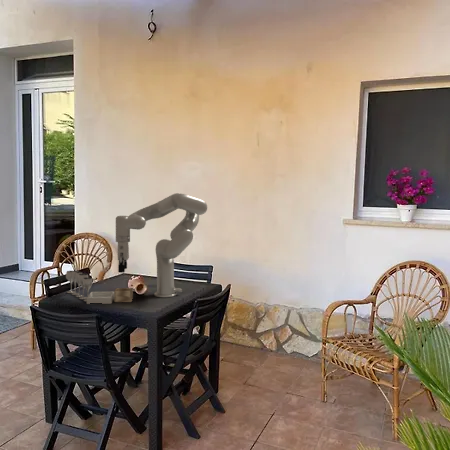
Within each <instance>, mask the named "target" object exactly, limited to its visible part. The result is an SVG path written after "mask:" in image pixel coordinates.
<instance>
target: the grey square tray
mask: <svg viewBox="0 0 450 450" xmlns="http://www.w3.org/2000/svg"><path fill="white" fill-rule="evenodd" d="M86 297H87V301H86V305H91V304H90V303H102V304H104V305H105V304H107V305H108V304H110V305H111V304H112V303H113V302H114V291H91V292H90V293H88V295H87V296H86ZM102 304H101V305H102Z"/></svg>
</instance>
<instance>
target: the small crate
mask: <svg viewBox="0 0 450 450" xmlns="http://www.w3.org/2000/svg"><path fill="white" fill-rule="evenodd" d="M133 288H134V287H124V288H123V287H121V288H119V287H117V288H115V289H114V291H113V292H114V300H113V302H115V303H122V302H123V303H131V302H132V301H133V300H132V299H134V289H133Z"/></svg>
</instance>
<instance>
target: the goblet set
mask: <svg viewBox="0 0 450 450" xmlns="http://www.w3.org/2000/svg"><path fill="white" fill-rule="evenodd" d="M65 279H66V280H67V281H68V282H69V283H70V290H69V291H66V293H67V294H71V295H72V296H75V297H76V298H78V299H79V300H83V302H87V297H88V296H89V291H90V289H91V287H92V285H93V278H92V277H89V274H88V273H83V272H82V271H78V270H67V271H66V273H65ZM72 285H74V290H72V287H73V286H72ZM77 286H78V292H76V289H77V288H76V287H77ZM81 287H82V294H81V293H80V292H81V291H80V290H81ZM85 290H86V293H87V295H86V296H85Z"/></svg>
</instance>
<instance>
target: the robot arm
mask: <svg viewBox="0 0 450 450" xmlns="http://www.w3.org/2000/svg"><path fill="white" fill-rule="evenodd" d="M178 209H179V210H183V211H185V216H184V217H183V219H182V220H181V221H180V222H179V223H178V224H177V225H176V226H175V227H174V228H172V230H171V232H170V235H169V236H170V239H167V238H165V239H163V238H162V239H160V240H158V242H156V244H155V245H156V246H155V255H156V291H155V292H153V293H154V294H153V295H154V297H157V298H172V297H175V296H177V293H182V292H183V289H182V288H180V287H175V260H174V259H176V258H177V257H179V256H180V255H181V254H182V253H183V251H185V250H186V248H187V247H188V246H190V244H191V243H192V242H193V239H194V233H193V231H194V230H195V229H196V227H197V226H198V224H199V221H200V216H202V215H203V214H205V213H206V212H207V211H208V205H207V202H206V201H204V200H203V199H200V198H196V197H194V196H190V195H188V194H185V193H178V192H177V193H173V194H171V195H169V196H166V197H165V198H163V199H161V200H159V201H157V202H156V203H152V204H151V205H148V206H146V207H143V208H141V209H139V210H137V211H134V212H133V213H131V214H129V215H117V216H116V217H115V242H116V243H117V261H118V267H117V268H118V269H117V271H118V273H125V272H126V269H128V260H129V258H130V253H129V252H130V251H129V250H130V248H129V245H130V244H129V243H130V242H131V230H142V229H144V228H145V227H146V225H147V223H146V222H147V221H151V220H154V219H160V218H163V217H165V216H167V215H169V214H171V213H173V212H175V211H177V210H178ZM187 249H188V248H187Z"/></svg>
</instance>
